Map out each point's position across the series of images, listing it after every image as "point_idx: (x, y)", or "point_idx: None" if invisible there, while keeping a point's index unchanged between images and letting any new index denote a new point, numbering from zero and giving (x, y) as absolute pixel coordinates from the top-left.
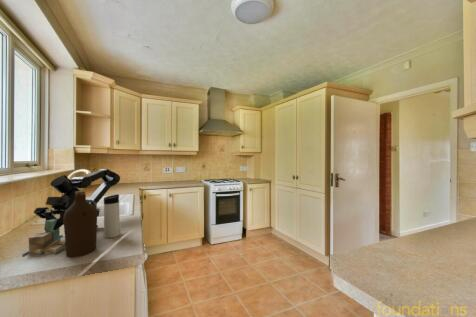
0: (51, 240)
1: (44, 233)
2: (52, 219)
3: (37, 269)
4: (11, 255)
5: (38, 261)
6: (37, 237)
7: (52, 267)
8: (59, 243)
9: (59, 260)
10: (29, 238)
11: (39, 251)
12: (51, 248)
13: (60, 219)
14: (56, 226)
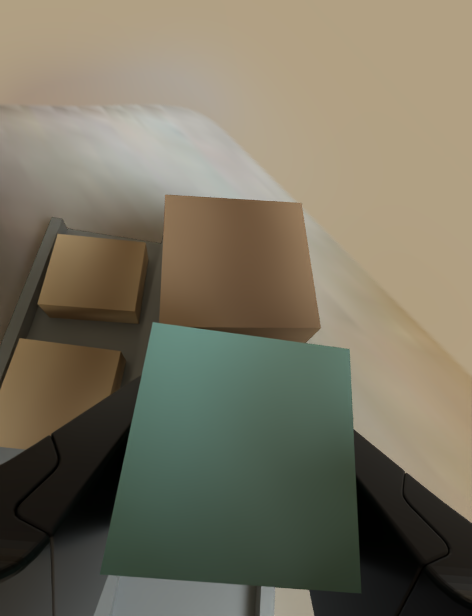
0: None
1: (219, 289)
2: (270, 494)
3: (92, 128)
4: (399, 341)
5: (145, 209)
6: (220, 203)
7: (20, 124)
8: (88, 352)
9: (15, 187)
10: (291, 208)
11: None
12: (103, 254)
13: (20, 474)
14: (119, 390)
